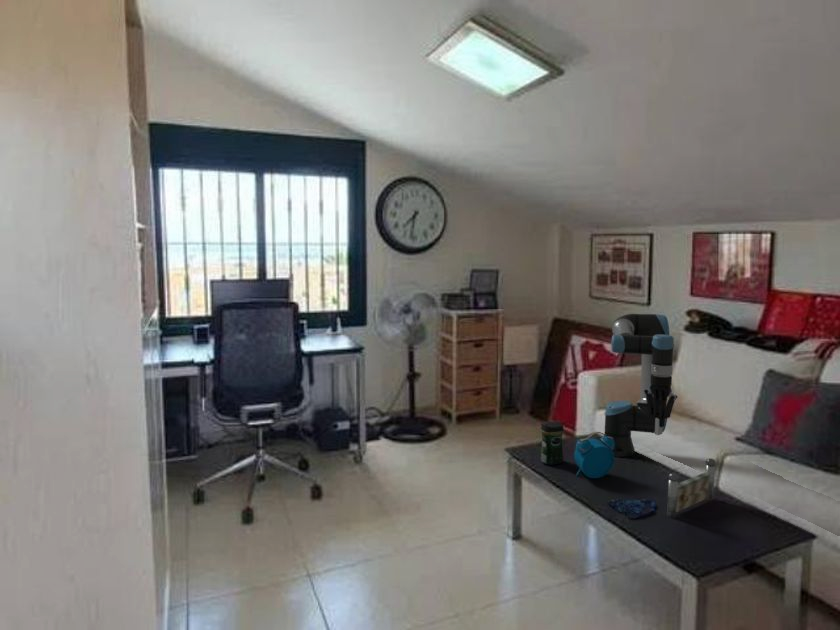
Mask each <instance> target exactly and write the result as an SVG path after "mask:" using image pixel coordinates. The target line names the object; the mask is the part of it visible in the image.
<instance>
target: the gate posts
mask: <svg viewBox="0 0 840 630" xmlns="http://www.w3.org/2000/svg"><path fill="white" fill-rule="evenodd" d="M716 465H717V462H716V460H715V459H713V458H707V459H706V461H705V473H708V474H710V477H709V488H708V498H707V499H705V500H704V501H707V500H708V501H709V502H712V501H714V491H715V475H716V474H715V473H716ZM667 478H668V482H667V483H668V484H667V506H666V516H667V517H668V518H671V519H676V517H677V512H676V508H677V489H678V483H679V475H678V474H677V473H676V472H670V473H669V474H668V476H667ZM708 501H707V502H708Z"/></svg>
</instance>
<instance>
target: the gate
mask: <svg viewBox="0 0 840 630" xmlns="http://www.w3.org/2000/svg"><path fill="white" fill-rule="evenodd" d="M709 477H710V474H708V473H706V472H703V473H700V474H698V475H695V476H694V477H690V478H689V479H686V480H683V481H680V482H678V489H677V508H676V513H678V512H681V511H683V510H684V509H687V508H689V507H691V506H693V505H696V504H698V503H700V502H702V501H706V500H705V499H707V498H708V488H709Z"/></svg>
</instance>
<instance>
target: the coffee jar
mask: <svg viewBox="0 0 840 630" xmlns="http://www.w3.org/2000/svg"><path fill="white" fill-rule="evenodd" d="M540 426H541V427H540V432H541V436H542V437H541V449H540V457H539V458H540V459H539V460H540V462H541V463H543V464H545V465H548V466H553V465H559V464H562V463H563V462H564V451H563V434H564V424H563V422H562V421H560V420H551V421H549V420H548V421H542V422H541V425H540Z"/></svg>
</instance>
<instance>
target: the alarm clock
mask: <svg viewBox="0 0 840 630" xmlns="http://www.w3.org/2000/svg"><path fill="white" fill-rule="evenodd" d="M597 434H601V435H603V436H605V437H603V436H602V437H600V440H599V439H596V438H591V437H593V436H594V435H597ZM602 441H603V442H604V443H605V444H606V445H608V446H609V447H610V448H611V449H612V450H613V449H614V446H615V443H614V441H613V437H608V436H606V435H605V434H604V432H601V431H596V432H593V433H592V434H590V435H589V436H588V437H585V438H580V439H578V440H577V442H576V443H575V450H574V454H573V455H574V458H573V459H574V462H575V464H576V465H577V467H578V468H579V469H578V471H577V472H576V476H577V477H578V476H579V475H580V473H581V472H582V473H583V474H584V475H585V476H586V477H588V478H591V479H598V478H602V477H604V476H605V475H607V474H608V473H609V472H610V471H611V469H612V468H613V467H614V466H613V465H614V463H615V456H614V454H613V452H612V450H611V449H609V448H608V447H607V446H606V445H604V444H603V443H602Z"/></svg>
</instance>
